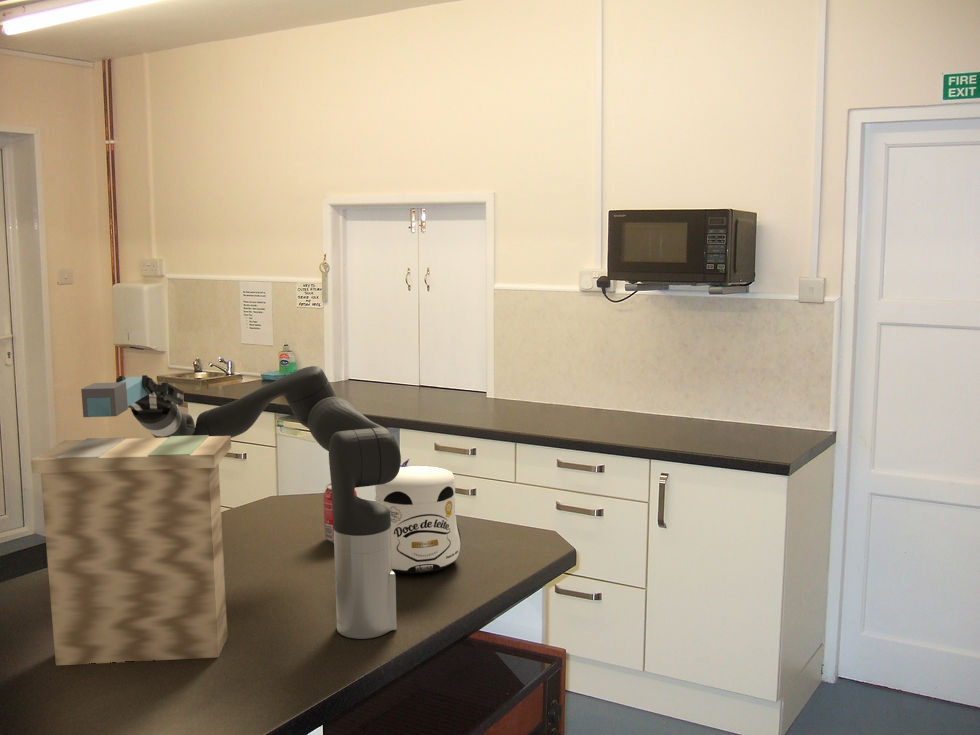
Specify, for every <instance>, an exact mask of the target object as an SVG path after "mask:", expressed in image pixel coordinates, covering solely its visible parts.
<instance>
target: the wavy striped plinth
mask: <svg viewBox="0 0 980 735" xmlns="http://www.w3.org/2000/svg"><path fill="white" fill-rule="evenodd" d="M231 449H232V438H231V436H209V435H196V436H170V437H167V438H155V437H140V438H139V437H138V438H137V437H136V438H135V437H132V438H126V437H97V438H96V437H95V438H92V437H91V438H89V437H88V438H85V439H66V440H63V441H61V442H59V443H58V444H56V445H54V446H52V447H50V448H49V449H47V450H46V451H44V452H42V453H40V454H39V455H37V456H35V457H34V458H32V459H30V464H31V465H30V468H31V474H40V482H41V483H40V484H41V496H42V498H41V499H42V507H43V519H44V520H43V522H44V531H45V535H44V536H45V545H46V546H45V547H46V558H47V569H48V570H47V571H48V582H49V583H48V584H49V585H48V586H49V596H50V609H51V610H50V611H51V620H52V634H53V646H54V655H55V656H54V658H55V660H54V661H55V666H69V665H71V666H72V665H92V664H91V663H96V664H111V663H112V662H116V663H126V662H125V661H135V662H149V661H153V660H155V661H169V660H174V661H175V660H189V659H210V658H211V659H213V658H219V657H220V655H221V653H222V650H223V648H224V646H225V643H226V642H227V639H228V624H227V623H228V622H227V621H228V620H227V604H226V585H225V584H226V582H225V580H226V579H225V563H224V562H225V561H224V546H223V545H224V544H223V543H224V541H223V525H222V524H223V523H222V508H221V506H222V505H221V502H222V501H221V487H220V486H221V485H220V468H219V467H220V466H219V465H220V464H219V463H220V462H221V461H222V460H223V459H224V457H225V456H226V455H227V454H228V452H229V451H230V450H231ZM110 662H111V663H110ZM153 662H154V661H153ZM89 663H90V664H89ZM112 664H113V663H112Z"/></svg>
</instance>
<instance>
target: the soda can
mask: <svg viewBox="0 0 980 735" xmlns="http://www.w3.org/2000/svg"><path fill="white" fill-rule="evenodd" d="M325 487H326V489H325V490H324V492H323V516H324V517H323V522H324V524H323V525H324V527H323V528H324V536H325V539H326V540H327V541H328V542H329V541H330V543H332V544H334V521H333V506H332V488H331V482H330V483H327V485H326V486H325ZM354 492H355V496H357V497H358V495H357V494H358V493H357V491H356V488H355V489H354Z"/></svg>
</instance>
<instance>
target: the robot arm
mask: <svg viewBox="0 0 980 735" xmlns="http://www.w3.org/2000/svg"><path fill="white" fill-rule="evenodd" d="M141 377H142V387H143V388H144V390H145V391H146V392H147V393H149V394H148V395H146V396H145V397H143V398H141V399H140V400H138V401H136V402H135V403H133V404H131V405H130V406H128V409H130V410H131V412H132V416H133V417H134V418H135V419H136V420H137V422H139V423H140V424H141V426H142V427H143V428H144V429H145V430H146V431H147V432H149V433H150V434H151V436H153V438H167V437H170V436H196V435H209V436H231V439H232V438H235V437H237V436H239V435H242V434H245V433H246V432H247V431H248V430H249V429H250V428H252V427H253V425H254V424H255V422H257V420H258V419H259V417H260V416H261V414H262V413H263V412H264V410H265V409H266V408H267V407H268V406H269V405H270V403H272V402H273V401H274V400H277V399H279V398H280V397H284V398H285V400H286V402H287V404H288V405H289V408H290V410H291V411H292V413H293V416H294V417H295V418H296V420H297V421H298V423H299V424H301V425H302V426H304V427H305V428H306V429H309V432H310V434H311V436H312V437H313V438H314V440H315V441H316V442H317V444H319V446H320V447H321V448H323V449H324V450H326V451H328V464H329V473H330V474H329V475H330V483H331V488H332V506H333V521H334V543H333V544H334V545H333V546H334V548H333V550H334V551H333V552H334V574H335V575H334V576H335V582H334V583H335V607H336V608H335V609H336V610H335V611H336V615H335V616H336V629H337V632H338V634H340V635H341V636H344V637H346V638H350V639H358V640H359V639H361V640H362V639H363V640H364V639H373V638H377V637H381V636H383V635H386V634H387V633H389V632H391V631H396V630H397V627H398V626H397V591H396V590H397V588H396V586H397V583H396V582H397V581H396V580H397V578H396V572H394V571H393V570H392V555H391V515H390V511H389V509H388V508H387V507H386V506H384V505H382V504H380V503H376V501H370V500H367V499H364V498H361V497H359V496H358V495H357V496H355V492H354V489H355V490H356V488H365V487H371V486H372V487H373V486H376V485H382V484H385V483H388V482H390V481H392V480H393V479H394V478H395V477H396V476H397V474H398V472H399V470H400V466H401V465H402V454H401V451H400V447H399V444H398V441H397V439H396V438H395V437H394V435H393V433H391V431H390V430H389V429H388V428H386V427H384V426H382V425H380V424H378V423H376V422H374V421H372V420H370V419H369V418H368V417H366V416H365V415H364V414H363V413H362V412H360V411H359V410H358V409H357V407H356V406H354V405H353V404H352V403H351V402H349V401H348V400H346V399H345V398H341V397H338V396H337V395H336V394H335V390H334V389H333V386H332V385H331V383H330V381H329V379H328V378H327V375H326V374H325V372H324V370H323V369H322V368H321V367H320V366H316V365H312V366H311V365H310V366H306V367H304V368H303V367H302V368H301V369H298V370H295V371H292V372H291V373H289V374H286V375H284V376H283V377H280V378H278V379H276V380H274V381H273V382H270V383H268V384H266V385H264V386H262V387H260V388H258V389H256V390H254V391H252V392H250V393H249V394H247V395H244V396H243V397H241V398H238V399H236V400H234V401H231V402H227V403H225V404H222V405H220V406H217V407H213V408H211V409H208V410H205V411H203V412H201V413H200V414H199V415H198V416H197V418H196V422H195V421H194V418H193V417H192V415H191V414H188V413H187V412H185V413H184V412H182V411H181V409H180V407H179V406H182V405H184V394H185V391H183V390H181V389H179V388H177V387H176V386H174V385H172V384H171V383H167V382H161V383H160V384H159V383H158V382H157V381H154V379H153V378H152V377H150V376H148V375H147V374H145V375H143V374H142V376H141ZM125 379H127V378H126V377H125V376H124V375H118V377H117V378H116V379H115V380H116V381H115V382H121V381H123V380H125Z"/></svg>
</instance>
